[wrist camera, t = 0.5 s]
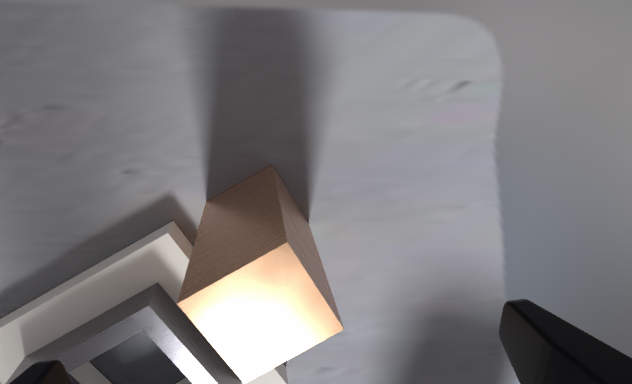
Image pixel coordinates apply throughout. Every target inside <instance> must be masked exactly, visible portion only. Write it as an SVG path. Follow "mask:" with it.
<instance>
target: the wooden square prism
mask: <svg viewBox="0 0 632 384" xmlns="http://www.w3.org/2000/svg"><path fill="white" fill-rule="evenodd" d="M177 305H178V306H179V307H180V308H181V309H182V311H183V312H184V313H185V314H186V315H187V317H188V318H189V319H190V320H191V321H192V322H193V324H194V325H195V326H196V327H197V328H198V329H199V331H200V332H201V333H202V334H203V335H204V337H205V338H206V339H207V340H208V341H209V342H210V344H211V345H212V346H213V347H214V348H215V350H216V351H217V352H218V353H219V354H220V355H221V357H222V358H223V359H224V360H225V361H226V363H227V364H228V365H229V366H230V367H231V368H232V370H233V371H234V372H235V373H236V374H237V376H238V377H239V378H240V379H241V380H242V381H243V383H244V384H245V383H247V382H249V381H251V380H252V379H254V378H256V377H258V376H260V375H261V374H263V373H265V372H267V371H269V370H271V369H272V368H274V367H276V366H278V365H280V364H282V363H283V362H285V361H287V360H289V359H291V358H292V357H294V356H296V355H298V354H300V353H302V352H303V351H305V350H307V349H309V348H311V347H313V346H314V345H316V344H318V343H320V342H322V341H323V340H325V339H327V338H329V337H331V336H333V335H334V334H336V333H338V332H340V331H342V330H343V329H344V328H343V325H342V322H341V319H340V316H339V313H338V310H337V307H336V304H335V301H334V298H333V295H332V292H331V289H330V286H329V283H328V280H327V277H326V274H325V271H324V268H323V265H322V262H321V259H320V256H319V253H318V250H317V247H316V244H315V241H314V238H313V235H312V232H311V229H310V226H309V223H308V222H307V220H306V219H305V217H304V215H303V214H302V212H301V210H300V209H299V207H298V205H297V204H296V202H295V201H294V199H293V197H292V196H291V194H290V192H289V191H288V189H287V187H286V186H285V184H284V183H283V181H282V179H281V178H280V176H279V174H278V173H277V171H276V169H275V168H274V166H273V164H272V165H270V166H268V167H266V168H265V169H263V170H261V171H259V172H258V173H256V174H254V175H252V176H251V177H249V178H247V179H245V180H244V181H242V182H240V183H238V184H237V185H235V186H233V187H231V188H229V189H228V190H226V191H224V192H222V193H221V194H219V195H217V196H215V197H214V198H212V199H210V200H208V201H207V202H206V204H205V208H204V211H203V215H202V218H201V221H200V225H199V228H198V232H197V235H196V239H195V242H194V246H193V249H192V253H191V256H190V260H189V263H188V267H187V270H186V274H185V277H184V281H183V284H182V288H181V291H180V295H179V298H178V302H177Z"/></svg>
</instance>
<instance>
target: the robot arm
mask: <svg viewBox="0 0 632 384" xmlns="http://www.w3.org/2000/svg"><path fill="white" fill-rule="evenodd" d="M499 335H500V339H501V342H502V344H503V346H504V349H505V351H506V353H507V355H508V357H509V360H510V362H511V364H512V366H513V369H514V371H515V373H516V375H517V377H518V380H519V382H520V384H632V358H630V357H629V356H627V355H625V354H623V353H621V352H620V351H618V350H616V349H614V348H613V347H611V346H609V345H607V344H605V343H603V342H602V341H600V340H598V339H596V338H595V337H593V336H591V335H589V334H588V333H586V332H584V331H582V330H580V329H579V328H577V327H575V326H573V325H572V324H570V323H568V322H566V321H564V320H563V319H561V318H559V317H557V316H556V315H554V314H552V313H550V312H548V311H547V310H545V309H543V308H541V307H540V306H538V305H536V304H534V303H533V302H531V301H529V300H526V299H519V300H512V301H507V302H506V303H505V304H504V307H503V312H502V317H501V322H500V327H499ZM9 384H73V383H72V381H71V379H70V377H69V375H68V373H67V371H66V369H65V367H64V365H63V363H62V362H61V361H60V360H56V359H55V360H47V361H39V362H36V363H34V364H33V365H31V366H30V367H29V368H27V369H26V370H25V371H24V372H23V373H21V374H20V375H19V376H18V377H16V378H15V379H14V380H13V381H11V382H10V383H9Z"/></svg>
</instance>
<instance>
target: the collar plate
mask: <svg viewBox="0 0 632 384" xmlns="http://www.w3.org/2000/svg"><path fill="white" fill-rule="evenodd" d="M192 249H193V246H192V244H191V243H190V242H189V240H188V239H187V238H186V237H185V235H184V234H183V233H182V231H181V230H180V229H179V227H178V226H177V225H176V224H175V222H174V221H172V222H170V223H168V224H166V225H165V226H163V227H161V228H159V229H158V230H156V231H154V232H152V233H151V234H149V235H147V236H145V237H144V238H142V239H140V240H138V241H137V242H135V243H133V244H131V245H130V246H128V247H126V248H124V249H122V250H121V251H119V252H117V253H115V254H114V255H112V256H110V257H108V258H107V259H105V260H103V261H101V262H100V263H98V264H96V265H94V266H93V267H91V268H89V269H87V270H85V271H84V272H82V273H80V274H78V275H77V276H75V277H73V278H71V279H70V280H68V281H66V282H64V283H63V284H61V285H59V286H57V287H56V288H54V289H52V290H50V291H48V292H47V293H45V294H43V295H41V296H40V297H38V298H36V299H34V300H33V301H31V302H29V303H27V304H26V305H24V306H22V307H20V308H19V309H17V310H15V311H13V312H12V313H10V314H8V315H6V316H4V317H3V318H1V319H0V382H1V383H2V384H9V383H10V382H11V381H13V380H14V379H15V378H16V377H18V376H19V375H20V374H21V373H23V372H24V371H25V370H26V369H27V368H29V367H30V366H31V365H33V364H34V363H36V362H39V361H47V360H55V359H56V360H60V361H61V362H62V363H63V365H64V367H65V369H66V371H67V373H68V375H69V377H70V379H71V381H72V383H73V384H112V383H111V382H110V381H109V380H108V379H107V378H106V377H105V376H103V375H102V374H101V373H100V372H99V371H98V370H97V369H96V368H95V367H94V366H93V365H92V364H91V363H90V362H89V361H90V360H92V359H93V358H95V357H97V356H99V355H101V354H102V353H104V352H106V351H108V350H110V349H111V348H113V347H115V346H117V345H119V344H120V343H122V342H124V341H126V340H127V339H129V338H131V337H133V336H135V335H136V334H138V333H140V332H142V331H144V332H145V333H146V334H147V335H148V336H149V337H150V338H151V339H152V340H153V341H154V342H155V343H156V345H157V346H158V347H159V348H160V349H161V350H162V351H163V352H164V353H165V354H166V355H167V356H168V358H169V359H170V360H171V361H172V362H173V363H174V364H175V365H176V366H177V367H178V368H179V369H180V371H181V372H182V373H183V374H184V375H185V376H186V378H184V379H183V380H181V381H179V382H177V383H175V384H244V383H243V381H242V380H241V379H240V378H239V377H238V376H237V374H236V373H235V372H234V371H233V370H232V368H231V367H230V366H229V365H228V364H227V363H226V361H225V360H224V359H223V358H222V357H221V355H220V354H219V353H218V352H217V351H216V350H215V348H214V347H213V346H212V345H211V344H210V342H209V341H208V340H207V339H206V338H205V337H204V335H203V334H202V333H201V332H200V331H199V329H198V328H197V327H196V326H195V325H194V324H193V322H192V321H191V320H190V319H189V318H188V317H187V315H186V314H185V313H184V312H183V311H182V309H181V308H180V307H179V306H178V305H177V302H178V298H179V295H180V291H181V288H182V284H183V281H184V277H185V274H186V270H187V267H188V263H189V260H190V256H191V253H192ZM245 384H288V380H287V371H286V367H285V365H284V364H283V363H282V364H280V365H278V366H276V367H274V368H272V369H271V370H269V371H267V372H265V373H263V374H261V375H260V376H258V377H256V378H254V379H252V380H251V381H249V382H247V383H245Z"/></svg>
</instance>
